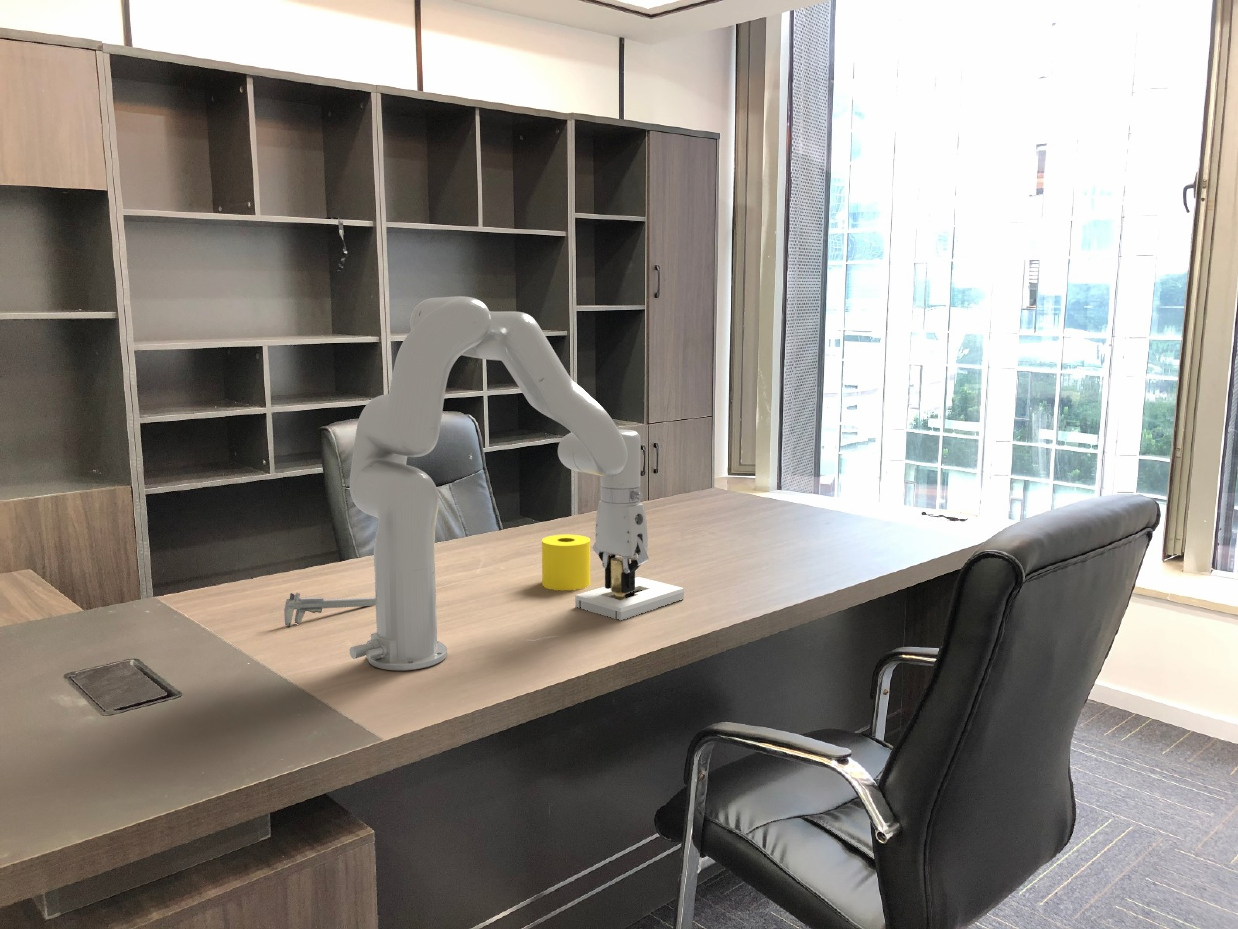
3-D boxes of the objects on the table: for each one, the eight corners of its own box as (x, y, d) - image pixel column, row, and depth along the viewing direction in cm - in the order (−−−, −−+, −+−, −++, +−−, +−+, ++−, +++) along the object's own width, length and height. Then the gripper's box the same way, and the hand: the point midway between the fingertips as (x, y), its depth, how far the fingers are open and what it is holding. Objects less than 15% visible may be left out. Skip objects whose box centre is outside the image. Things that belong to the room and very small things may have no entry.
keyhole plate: (621, 620, 174) (621, 608, 173) (575, 607, 182) (575, 595, 181) (683, 599, 186) (683, 588, 186) (638, 588, 195) (638, 576, 194)
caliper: (288, 629, 169) (286, 595, 168) (285, 628, 170) (283, 594, 169) (384, 604, 184) (383, 572, 183) (381, 602, 185) (380, 571, 184)
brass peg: (620, 610, 179) (620, 563, 178) (605, 606, 182) (605, 559, 180) (634, 606, 182) (634, 559, 181) (619, 601, 185) (619, 555, 183)
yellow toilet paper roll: (560, 575, 204) (559, 532, 203) (599, 582, 199) (599, 538, 198) (532, 586, 196) (532, 541, 195) (573, 593, 191) (572, 547, 189)
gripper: (666, 498, 176) (665, 594, 179) (602, 487, 187) (602, 577, 190) (639, 503, 170) (638, 602, 173) (575, 492, 182) (575, 585, 184)
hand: (619, 588), depth 181 cm, fingers closed on brass peg, 3 cm apart
